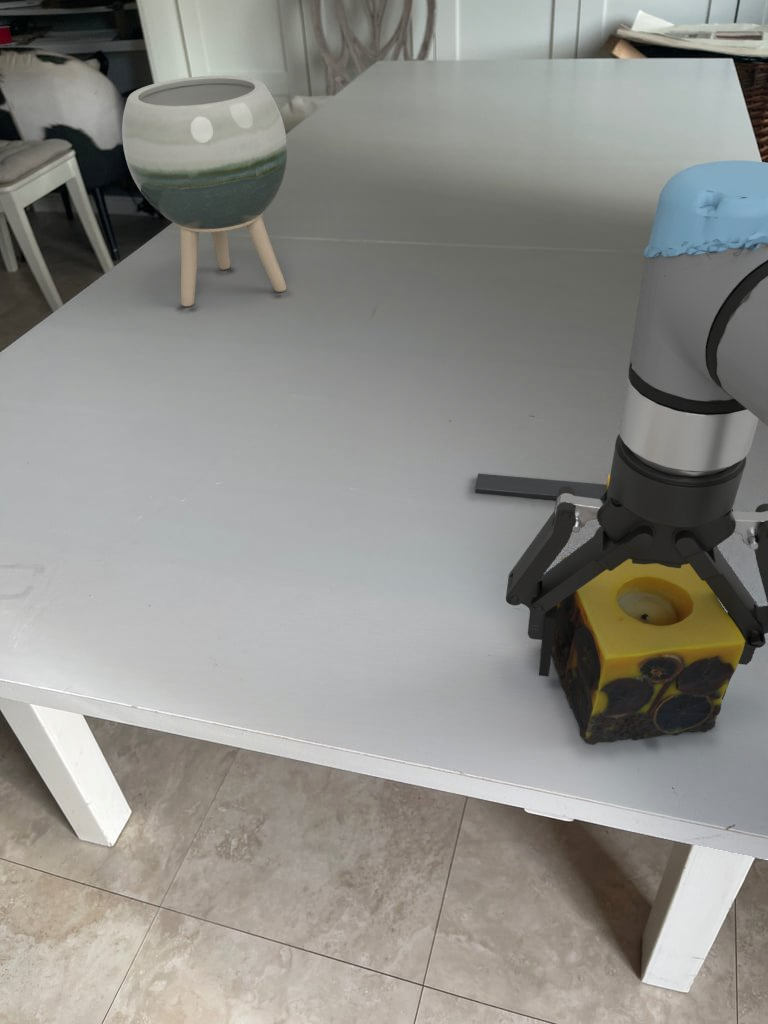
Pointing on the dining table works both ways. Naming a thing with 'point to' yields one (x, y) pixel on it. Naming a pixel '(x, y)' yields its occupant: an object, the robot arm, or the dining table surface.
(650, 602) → the candle
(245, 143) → the planter
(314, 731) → the dining table surface
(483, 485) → the knife
